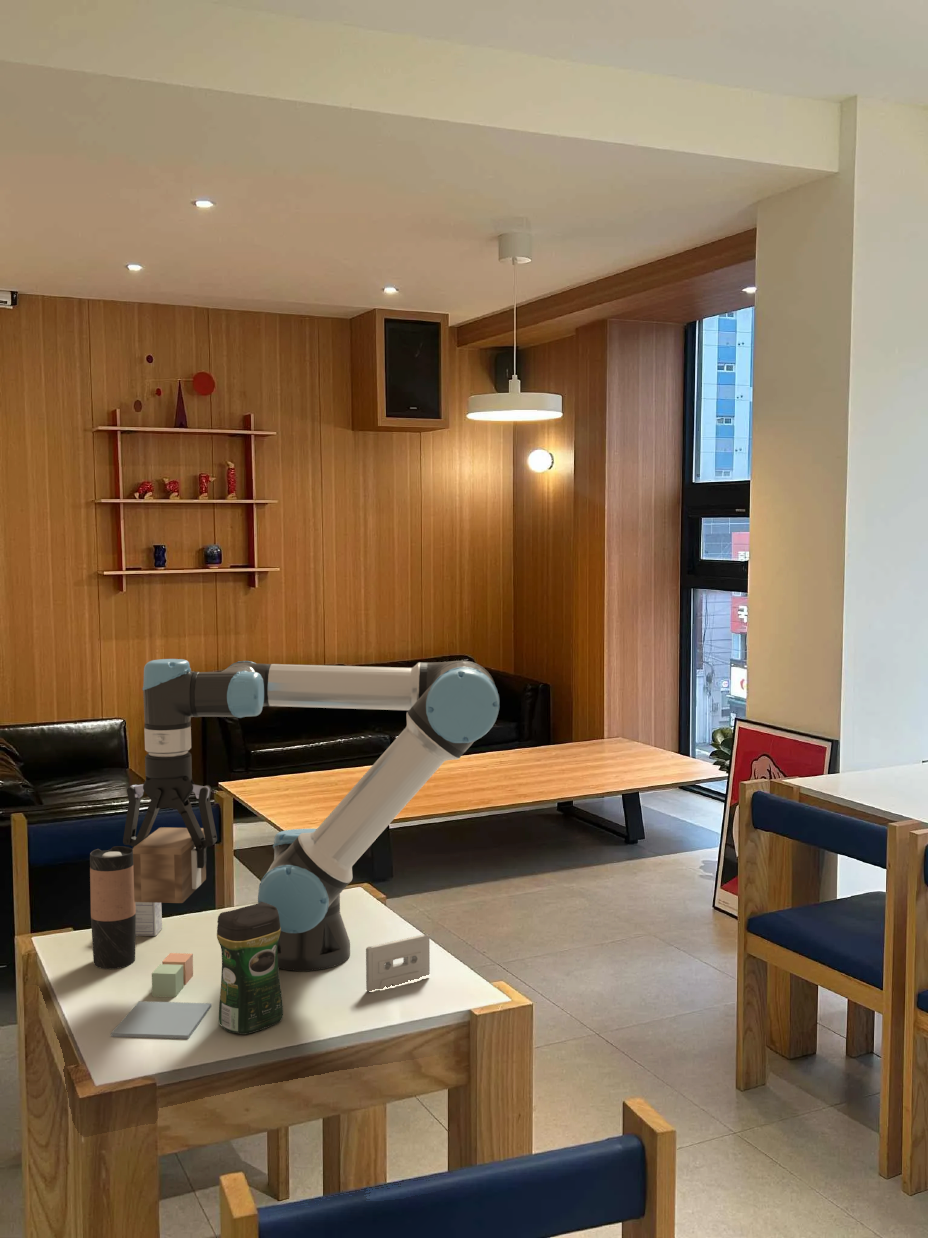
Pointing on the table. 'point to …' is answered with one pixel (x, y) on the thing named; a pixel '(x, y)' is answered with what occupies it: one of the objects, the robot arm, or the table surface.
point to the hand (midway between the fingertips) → (171, 886)
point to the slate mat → (162, 1020)
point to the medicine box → (148, 918)
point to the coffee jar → (249, 968)
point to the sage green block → (167, 980)
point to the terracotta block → (181, 960)
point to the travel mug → (112, 907)
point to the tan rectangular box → (164, 867)
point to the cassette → (411, 968)
